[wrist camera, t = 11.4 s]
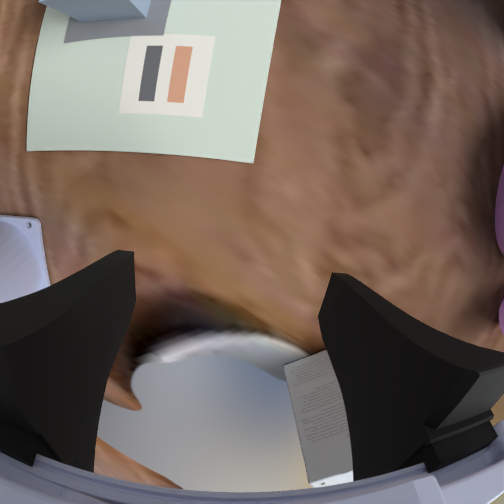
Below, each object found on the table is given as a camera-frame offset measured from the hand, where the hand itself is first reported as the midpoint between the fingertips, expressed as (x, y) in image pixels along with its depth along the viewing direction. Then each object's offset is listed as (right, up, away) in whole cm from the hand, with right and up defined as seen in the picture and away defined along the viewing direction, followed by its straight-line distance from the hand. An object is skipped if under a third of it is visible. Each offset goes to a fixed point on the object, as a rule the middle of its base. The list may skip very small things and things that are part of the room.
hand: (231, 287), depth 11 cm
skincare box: (+7, -9, +16) cm, 20 cm away
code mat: (-6, +15, +3) cm, 16 cm away
